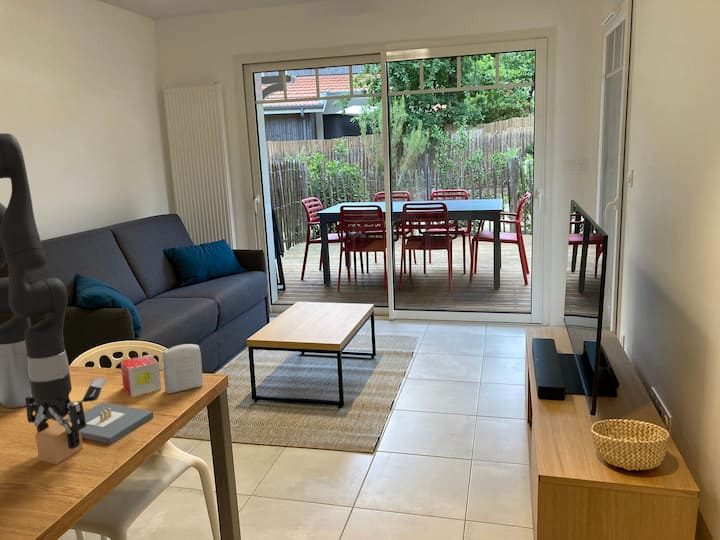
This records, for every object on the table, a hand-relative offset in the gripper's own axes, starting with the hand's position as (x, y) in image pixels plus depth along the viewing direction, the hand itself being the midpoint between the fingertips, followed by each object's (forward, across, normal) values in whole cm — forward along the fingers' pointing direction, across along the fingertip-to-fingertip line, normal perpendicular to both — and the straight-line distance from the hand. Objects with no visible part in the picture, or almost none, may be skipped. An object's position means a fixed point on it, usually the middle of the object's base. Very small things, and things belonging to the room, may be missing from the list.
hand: (59, 444), depth 127 cm
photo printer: (+3, +3, +38) cm, 38 cm away
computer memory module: (+3, -20, +29) cm, 36 cm away
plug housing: (+3, 0, 0) cm, 3 cm away
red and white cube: (+3, -8, +34) cm, 35 cm away
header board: (+3, -1, +14) cm, 14 cm away
